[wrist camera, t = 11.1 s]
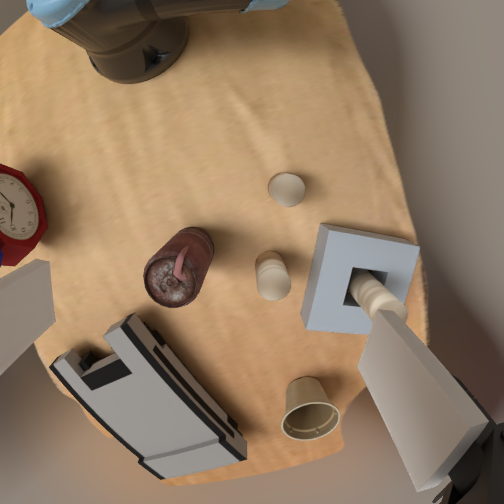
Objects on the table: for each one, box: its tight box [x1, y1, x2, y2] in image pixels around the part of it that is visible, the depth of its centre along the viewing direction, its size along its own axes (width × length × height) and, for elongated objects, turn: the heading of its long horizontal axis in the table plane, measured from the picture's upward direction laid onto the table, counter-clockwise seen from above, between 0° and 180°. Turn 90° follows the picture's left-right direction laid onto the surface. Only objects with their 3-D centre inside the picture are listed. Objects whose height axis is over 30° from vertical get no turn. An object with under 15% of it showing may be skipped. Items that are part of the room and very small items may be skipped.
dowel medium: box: [255, 251, 291, 301], centre depth 40 cm, size 4×4×8 cm
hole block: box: [301, 223, 420, 335], centre depth 42 cm, size 14×14×5 cm
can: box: [143, 227, 214, 308], centre depth 36 cm, size 6×6×14 cm
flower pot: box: [281, 377, 340, 441], centre depth 46 cm, size 9×9×9 cm
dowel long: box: [347, 267, 408, 323], centre depth 37 cm, size 4×4×14 cm
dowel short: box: [268, 173, 305, 207], centre depth 38 cm, size 4×4×5 cm
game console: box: [49, 312, 247, 480], centre depth 46 cm, size 21×32×8 cm, turn 30°
